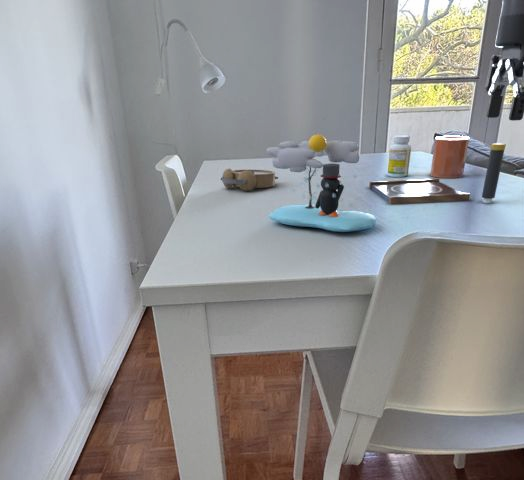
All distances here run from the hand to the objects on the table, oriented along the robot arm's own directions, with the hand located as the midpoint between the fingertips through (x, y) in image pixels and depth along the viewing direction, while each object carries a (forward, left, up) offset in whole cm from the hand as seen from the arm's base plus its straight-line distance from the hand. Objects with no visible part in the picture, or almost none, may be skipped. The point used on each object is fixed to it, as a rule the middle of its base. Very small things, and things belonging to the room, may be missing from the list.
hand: (503, 118), depth 88 cm
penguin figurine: (+36, +11, -16) cm, 41 cm away
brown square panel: (+11, -11, -15) cm, 22 cm away
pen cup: (-4, -31, -15) cm, 35 cm away
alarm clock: (+48, -27, -16) cm, 57 cm away
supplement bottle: (+8, -34, -16) cm, 38 cm away
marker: (0, 0, -15) cm, 15 cm away
